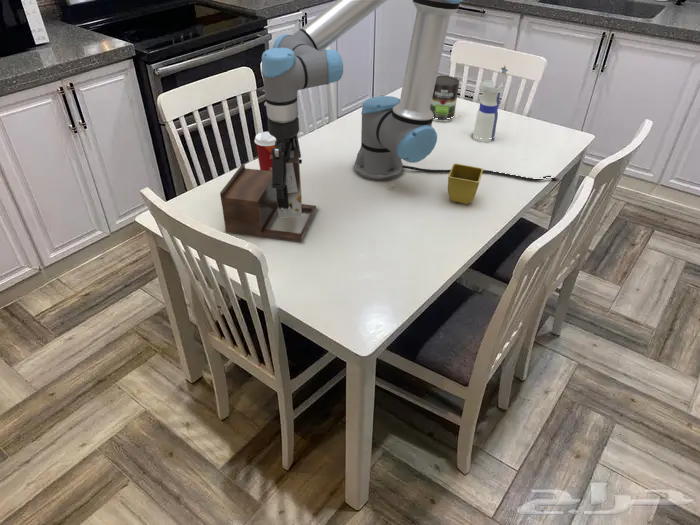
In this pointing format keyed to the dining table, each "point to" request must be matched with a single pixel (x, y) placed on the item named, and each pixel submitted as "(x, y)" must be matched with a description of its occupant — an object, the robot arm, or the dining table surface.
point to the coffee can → (444, 98)
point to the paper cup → (265, 150)
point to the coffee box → (292, 187)
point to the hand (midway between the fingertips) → (289, 196)
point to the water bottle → (488, 110)
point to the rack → (255, 206)
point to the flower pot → (463, 183)
